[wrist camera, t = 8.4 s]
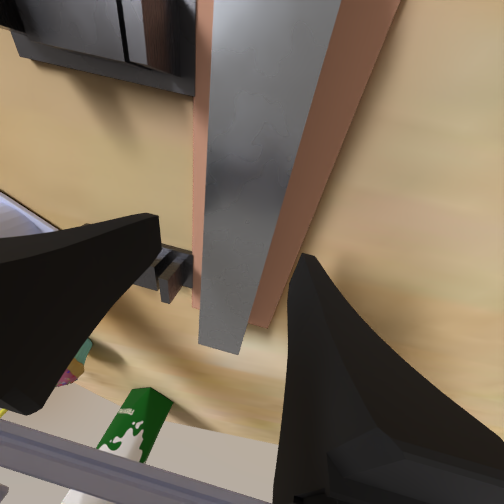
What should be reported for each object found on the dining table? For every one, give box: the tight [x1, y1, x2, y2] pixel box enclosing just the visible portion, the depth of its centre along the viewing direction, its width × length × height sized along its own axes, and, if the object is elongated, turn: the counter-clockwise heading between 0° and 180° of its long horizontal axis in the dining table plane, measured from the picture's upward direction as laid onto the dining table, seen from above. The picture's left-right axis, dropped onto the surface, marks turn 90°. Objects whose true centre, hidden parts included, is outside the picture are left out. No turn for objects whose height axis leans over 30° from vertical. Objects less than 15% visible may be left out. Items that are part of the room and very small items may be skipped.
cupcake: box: [0, 338, 92, 418], centre depth 29 cm, size 9×8×12 cm
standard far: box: [82, 223, 193, 304], centre depth 18 cm, size 4×11×5 cm, turn 79°
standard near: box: [0, 0, 196, 97], centre depth 9 cm, size 4×11×5 cm, turn 79°
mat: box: [192, 0, 401, 329], centre depth 15 cm, size 27×9×1 cm, turn 169°
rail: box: [198, 0, 341, 355], centre depth 13 cm, size 26×4×4 cm, turn 169°
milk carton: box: [61, 387, 173, 504], centre depth 36 cm, size 9×9×20 cm
